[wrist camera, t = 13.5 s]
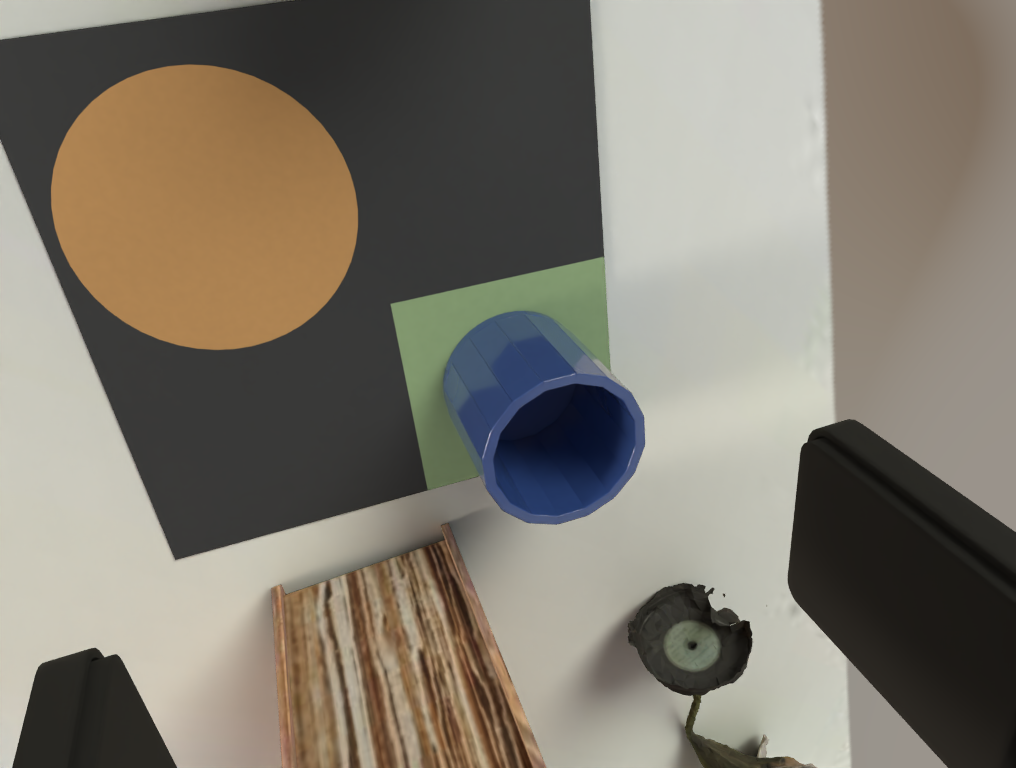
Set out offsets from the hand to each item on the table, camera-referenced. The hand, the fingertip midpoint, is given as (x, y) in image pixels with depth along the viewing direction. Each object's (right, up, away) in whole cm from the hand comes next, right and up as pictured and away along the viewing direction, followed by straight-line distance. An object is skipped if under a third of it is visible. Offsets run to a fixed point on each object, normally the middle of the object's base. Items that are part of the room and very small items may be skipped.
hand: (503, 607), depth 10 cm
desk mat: (-6, +7, +23) cm, 24 cm away
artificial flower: (+14, -18, +42) cm, 48 cm away
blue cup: (0, +3, +27) cm, 27 cm away
